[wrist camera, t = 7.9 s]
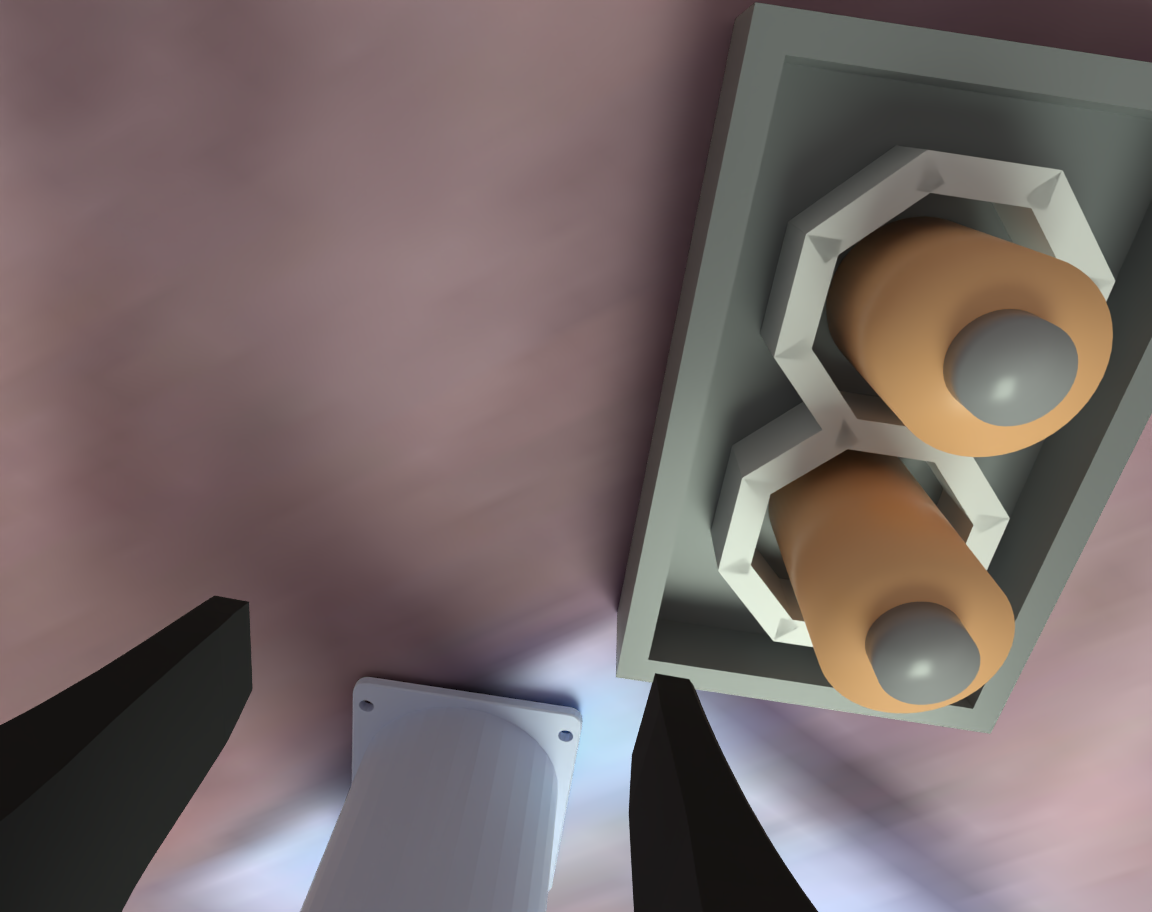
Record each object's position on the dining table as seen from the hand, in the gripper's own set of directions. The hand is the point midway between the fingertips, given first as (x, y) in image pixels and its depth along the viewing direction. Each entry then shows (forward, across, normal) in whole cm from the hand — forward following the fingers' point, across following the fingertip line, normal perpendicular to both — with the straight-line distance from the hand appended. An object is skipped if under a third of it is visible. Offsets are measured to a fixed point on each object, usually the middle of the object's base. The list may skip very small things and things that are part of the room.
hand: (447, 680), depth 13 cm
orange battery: (+9, -9, 0) cm, 13 cm away
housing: (+10, -9, -3) cm, 14 cm away
